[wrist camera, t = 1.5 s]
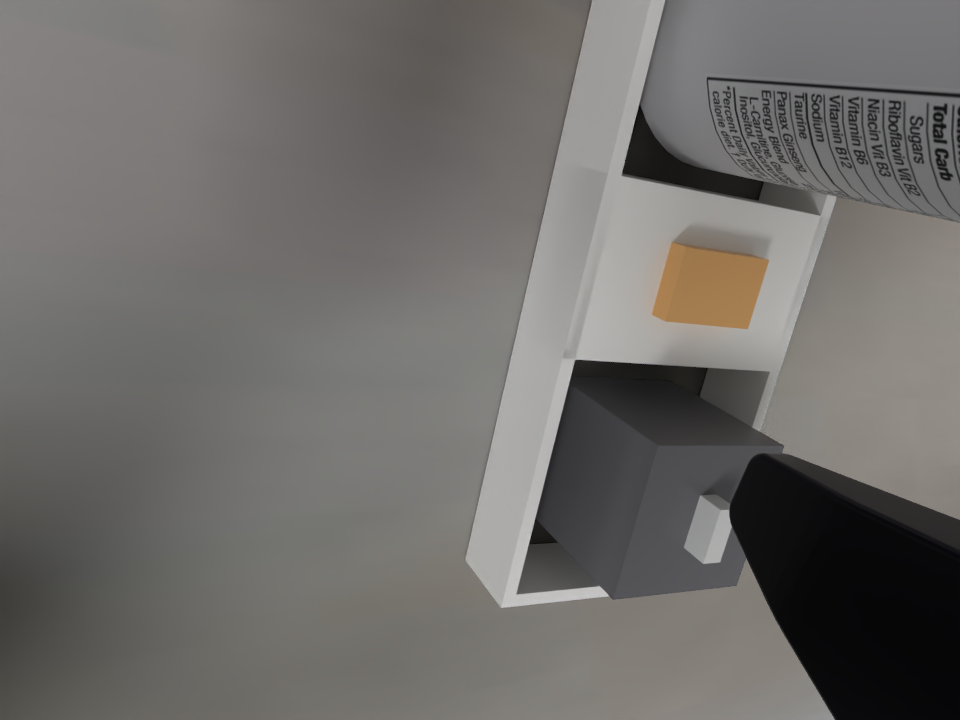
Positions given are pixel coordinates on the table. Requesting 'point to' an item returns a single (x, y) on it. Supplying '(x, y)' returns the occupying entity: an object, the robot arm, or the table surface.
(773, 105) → the energy drink can
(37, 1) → the table surface
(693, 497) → the black block
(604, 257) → the dock strip
